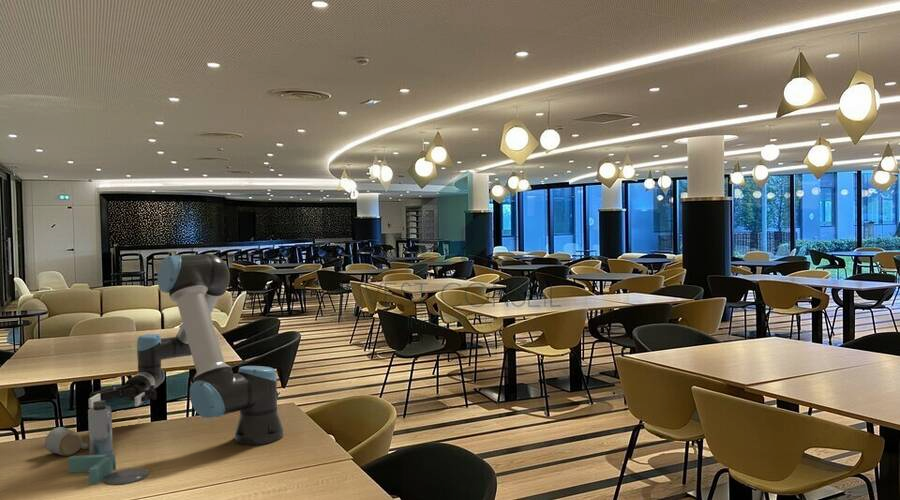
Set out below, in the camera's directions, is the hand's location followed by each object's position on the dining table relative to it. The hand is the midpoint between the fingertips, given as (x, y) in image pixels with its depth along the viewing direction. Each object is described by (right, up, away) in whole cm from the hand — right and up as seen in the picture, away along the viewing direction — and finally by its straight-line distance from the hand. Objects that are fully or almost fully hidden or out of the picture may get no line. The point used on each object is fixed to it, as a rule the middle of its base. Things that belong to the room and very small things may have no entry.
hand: (112, 402), depth 201 cm
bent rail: (+3, -16, -20) cm, 26 cm away
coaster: (+15, -15, -21) cm, 30 cm away
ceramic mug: (-14, -16, +1) cm, 21 cm away
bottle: (+2, -15, -10) cm, 18 cm away
